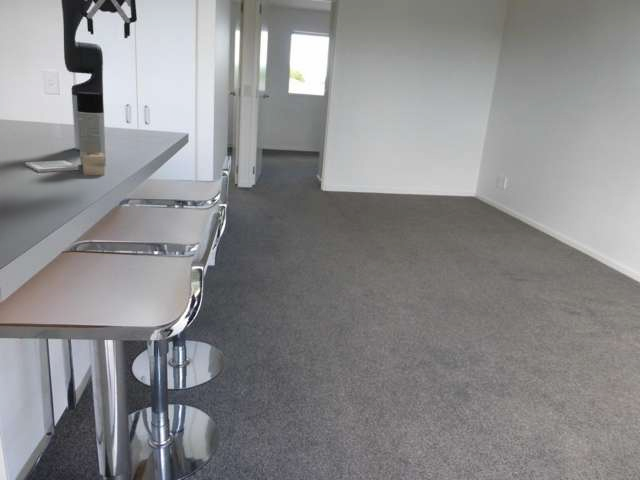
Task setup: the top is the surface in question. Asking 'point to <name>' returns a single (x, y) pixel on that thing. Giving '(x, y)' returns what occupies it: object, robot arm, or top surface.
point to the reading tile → (52, 166)
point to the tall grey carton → (91, 123)
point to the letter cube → (93, 164)
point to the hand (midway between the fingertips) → (109, 36)
